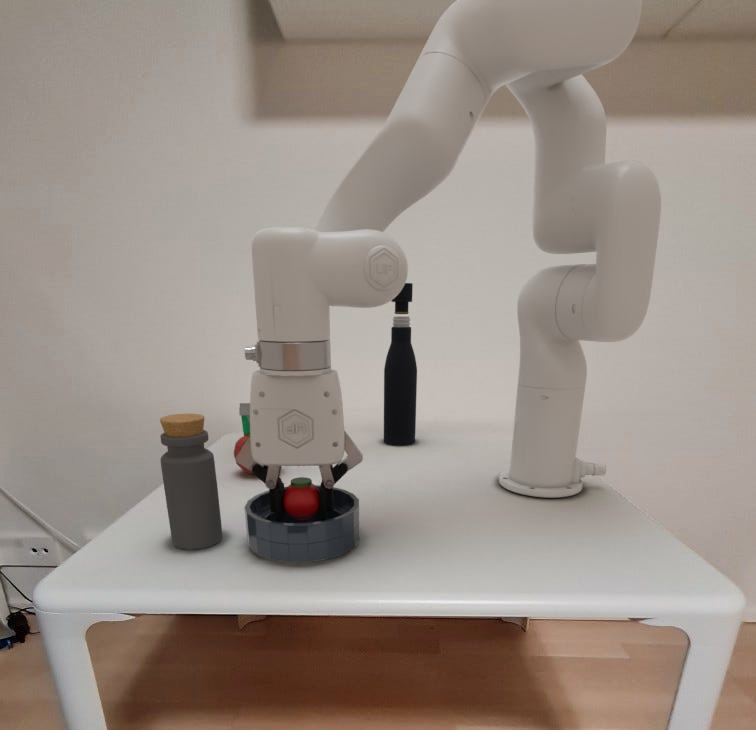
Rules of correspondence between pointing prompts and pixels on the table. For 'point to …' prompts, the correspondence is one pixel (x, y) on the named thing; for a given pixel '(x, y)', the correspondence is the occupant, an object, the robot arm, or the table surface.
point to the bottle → (190, 483)
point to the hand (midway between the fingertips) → (302, 515)
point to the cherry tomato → (301, 499)
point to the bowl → (302, 530)
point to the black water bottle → (400, 377)
